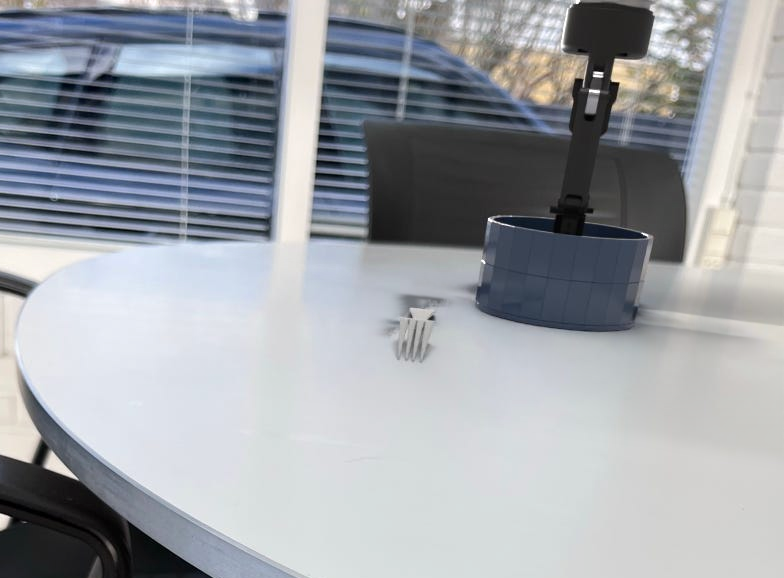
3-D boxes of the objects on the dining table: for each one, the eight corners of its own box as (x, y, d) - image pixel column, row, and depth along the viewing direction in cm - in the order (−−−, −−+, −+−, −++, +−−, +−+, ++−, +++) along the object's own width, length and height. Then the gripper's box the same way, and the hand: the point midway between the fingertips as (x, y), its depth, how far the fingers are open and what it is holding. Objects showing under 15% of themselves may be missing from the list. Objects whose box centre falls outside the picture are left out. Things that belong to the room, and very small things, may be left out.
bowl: (632, 311, 109) (650, 229, 105) (635, 338, 96) (656, 245, 92) (483, 292, 112) (496, 211, 108) (466, 316, 98) (480, 224, 95)
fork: (434, 340, 99) (438, 309, 98) (428, 362, 79) (433, 324, 78) (404, 336, 99) (408, 306, 98) (391, 358, 80) (395, 320, 79)
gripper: (571, 9, 99) (524, 271, 110) (565, -8, 86) (512, 292, 97) (653, 16, 98) (597, 280, 109) (660, -1, 84) (595, 303, 95)
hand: (557, 285), depth 103 cm, fingers closed on stick, 2 cm apart
